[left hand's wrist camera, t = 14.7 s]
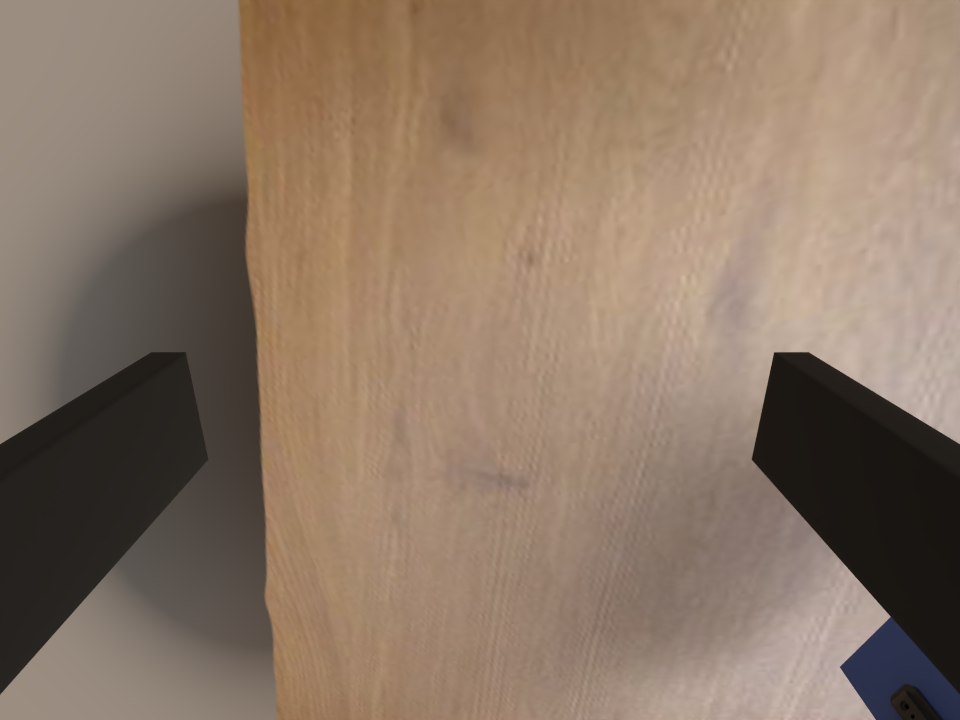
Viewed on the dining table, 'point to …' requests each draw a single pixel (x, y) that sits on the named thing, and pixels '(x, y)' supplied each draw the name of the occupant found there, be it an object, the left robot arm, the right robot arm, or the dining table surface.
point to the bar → (897, 674)
